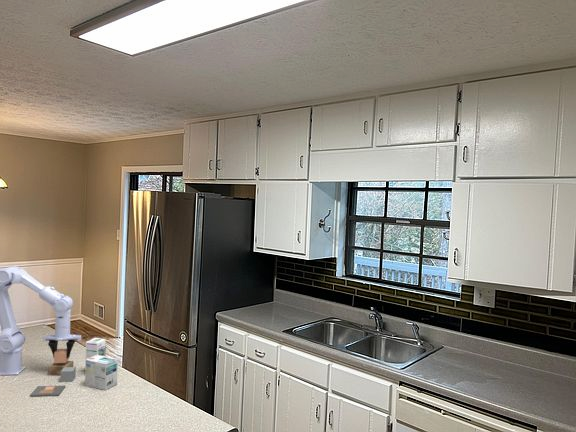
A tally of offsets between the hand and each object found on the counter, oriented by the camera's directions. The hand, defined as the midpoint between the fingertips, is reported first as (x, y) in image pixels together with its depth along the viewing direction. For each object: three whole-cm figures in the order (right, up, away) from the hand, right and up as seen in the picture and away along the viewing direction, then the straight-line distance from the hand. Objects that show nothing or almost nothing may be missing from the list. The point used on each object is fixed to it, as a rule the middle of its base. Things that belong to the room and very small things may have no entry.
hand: (61, 357), depth 187 cm
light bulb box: (+21, -8, -10) cm, 25 cm away
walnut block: (0, -7, 0) cm, 7 cm away
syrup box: (+14, -7, +1) cm, 16 cm away
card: (+4, -7, -18) cm, 20 cm away
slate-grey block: (+6, -7, -7) cm, 11 cm away
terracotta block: (0, -2, 0) cm, 2 cm away
